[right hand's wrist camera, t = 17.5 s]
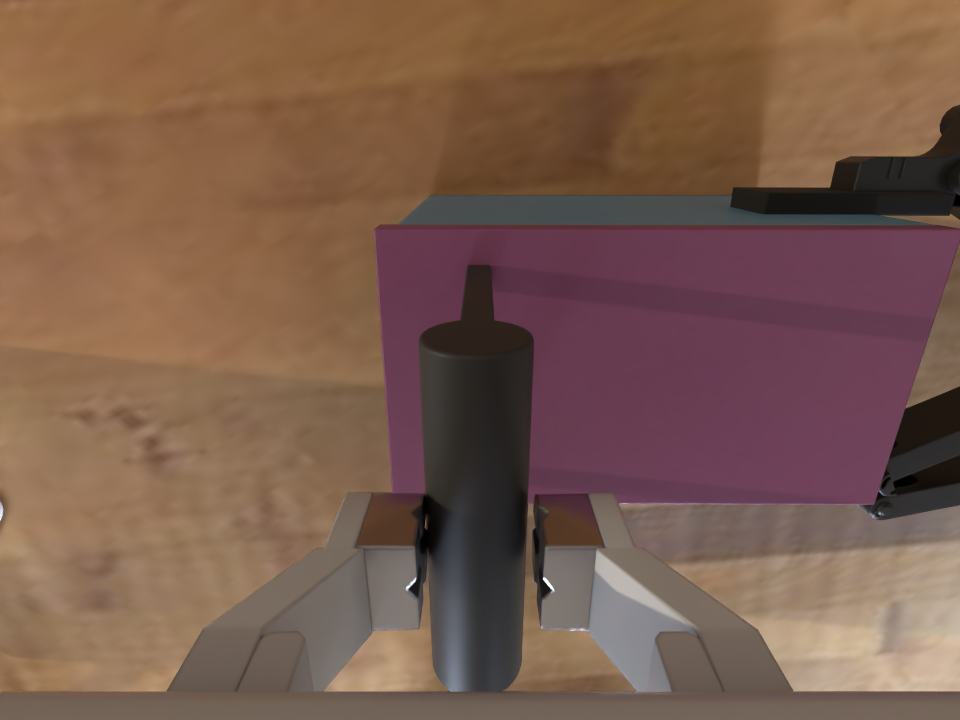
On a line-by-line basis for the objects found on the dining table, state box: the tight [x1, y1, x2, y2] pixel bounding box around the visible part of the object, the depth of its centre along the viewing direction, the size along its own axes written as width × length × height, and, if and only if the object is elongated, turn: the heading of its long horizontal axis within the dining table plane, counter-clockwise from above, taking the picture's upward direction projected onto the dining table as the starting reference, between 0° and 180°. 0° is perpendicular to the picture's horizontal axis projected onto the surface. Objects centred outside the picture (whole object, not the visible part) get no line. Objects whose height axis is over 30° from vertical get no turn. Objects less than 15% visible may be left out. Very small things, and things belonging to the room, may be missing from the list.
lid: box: [374, 225, 960, 692], centre depth 14 cm, size 17×10×9 cm, turn 90°
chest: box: [398, 195, 932, 225], centre depth 23 cm, size 16×10×11 cm, turn 90°
